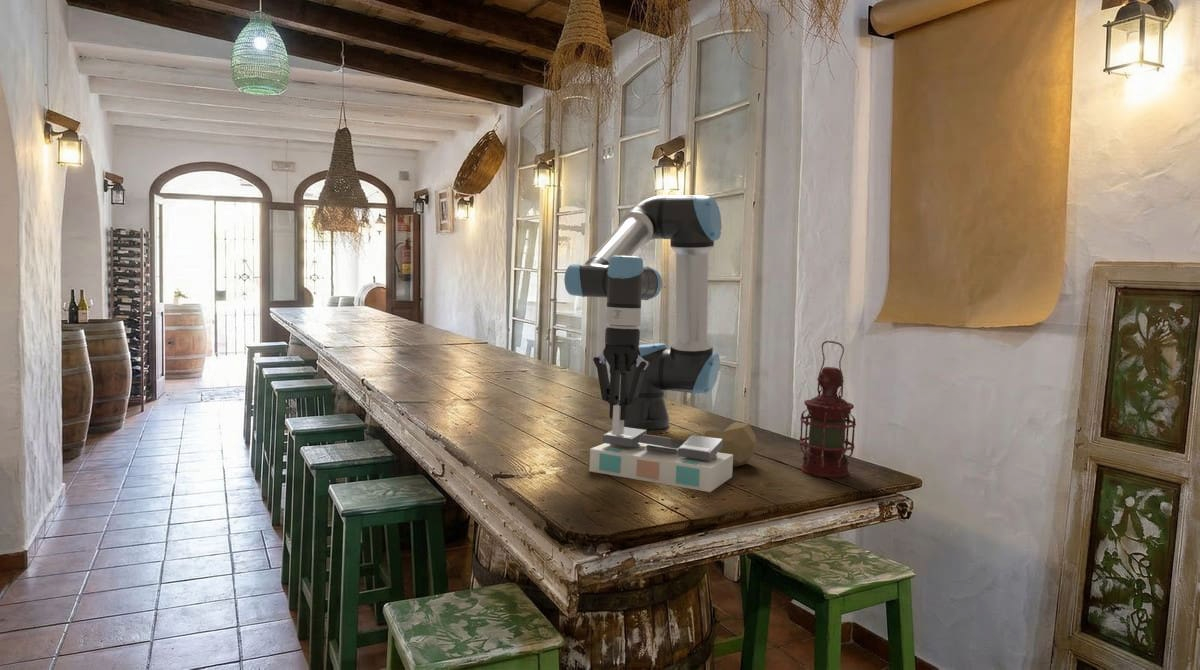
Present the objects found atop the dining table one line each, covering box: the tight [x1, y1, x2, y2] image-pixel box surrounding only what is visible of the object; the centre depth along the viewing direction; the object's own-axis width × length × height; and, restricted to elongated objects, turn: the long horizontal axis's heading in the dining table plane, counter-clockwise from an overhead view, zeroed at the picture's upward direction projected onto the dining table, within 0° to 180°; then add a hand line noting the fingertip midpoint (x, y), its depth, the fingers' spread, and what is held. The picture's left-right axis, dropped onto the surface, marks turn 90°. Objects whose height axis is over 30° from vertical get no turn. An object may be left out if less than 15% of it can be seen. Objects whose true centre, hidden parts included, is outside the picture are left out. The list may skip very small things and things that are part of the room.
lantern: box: [798, 340, 857, 479], centre depth 181 cm, size 12×12×30 cm
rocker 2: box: [678, 434, 723, 461], centre depth 171 cm, size 8×7×2 cm
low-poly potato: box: [702, 421, 757, 468], centre depth 186 cm, size 15×11×12 cm
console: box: [588, 442, 734, 493], centre depth 175 cm, size 14×28×6 cm, turn 62°
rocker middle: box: [640, 434, 685, 448], centre depth 175 cm, size 8×7×2 cm
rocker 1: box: [602, 427, 648, 447], centre depth 179 cm, size 8×7×2 cm
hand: (617, 434), depth 175 cm, fingers closed
